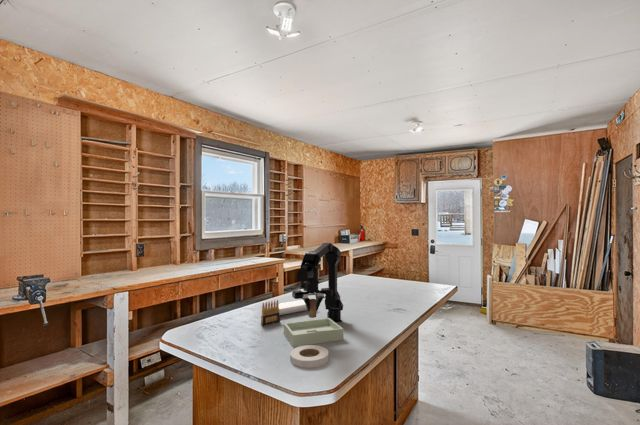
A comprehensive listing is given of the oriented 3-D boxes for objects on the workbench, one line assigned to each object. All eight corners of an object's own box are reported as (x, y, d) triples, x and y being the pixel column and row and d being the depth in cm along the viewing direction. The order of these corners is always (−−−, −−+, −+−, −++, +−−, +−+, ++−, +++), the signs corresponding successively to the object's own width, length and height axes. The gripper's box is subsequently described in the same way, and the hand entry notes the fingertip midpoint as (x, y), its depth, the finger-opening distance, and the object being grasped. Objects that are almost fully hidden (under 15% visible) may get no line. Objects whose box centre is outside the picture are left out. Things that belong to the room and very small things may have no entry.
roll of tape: (282, 362, 125) (282, 355, 125) (304, 349, 138) (304, 342, 138) (315, 372, 117) (315, 364, 117) (335, 356, 130) (335, 349, 130)
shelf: (316, 311, 196) (316, 302, 196) (271, 320, 179) (271, 310, 179) (306, 307, 206) (306, 299, 206) (263, 315, 189) (263, 306, 189)
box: (329, 327, 164) (329, 317, 165) (343, 339, 147) (343, 328, 148) (283, 333, 156) (283, 323, 156) (293, 346, 139) (293, 335, 140)
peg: (314, 315, 155) (314, 298, 155) (317, 317, 151) (317, 300, 151) (307, 315, 153) (307, 299, 154) (310, 318, 150) (310, 300, 150)
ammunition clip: (262, 326, 168) (262, 303, 168) (261, 325, 169) (260, 302, 170) (279, 321, 175) (279, 299, 175) (277, 321, 176) (277, 299, 177)
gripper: (324, 274, 164) (324, 305, 163) (289, 277, 157) (289, 309, 157) (332, 278, 153) (333, 311, 153) (295, 281, 147) (295, 315, 146)
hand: (312, 311), depth 152 cm, fingers closed on peg, 4 cm apart
